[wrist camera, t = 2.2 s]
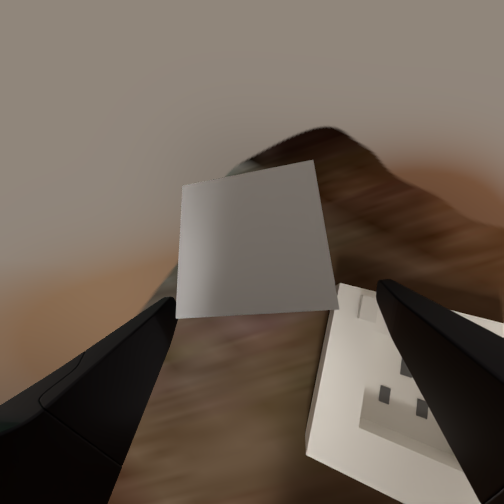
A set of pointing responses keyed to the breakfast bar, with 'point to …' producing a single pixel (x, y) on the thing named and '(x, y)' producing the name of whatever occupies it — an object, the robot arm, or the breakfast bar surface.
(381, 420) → the socket
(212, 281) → the grey tall block
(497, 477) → the robot arm
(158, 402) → the breakfast bar surface
